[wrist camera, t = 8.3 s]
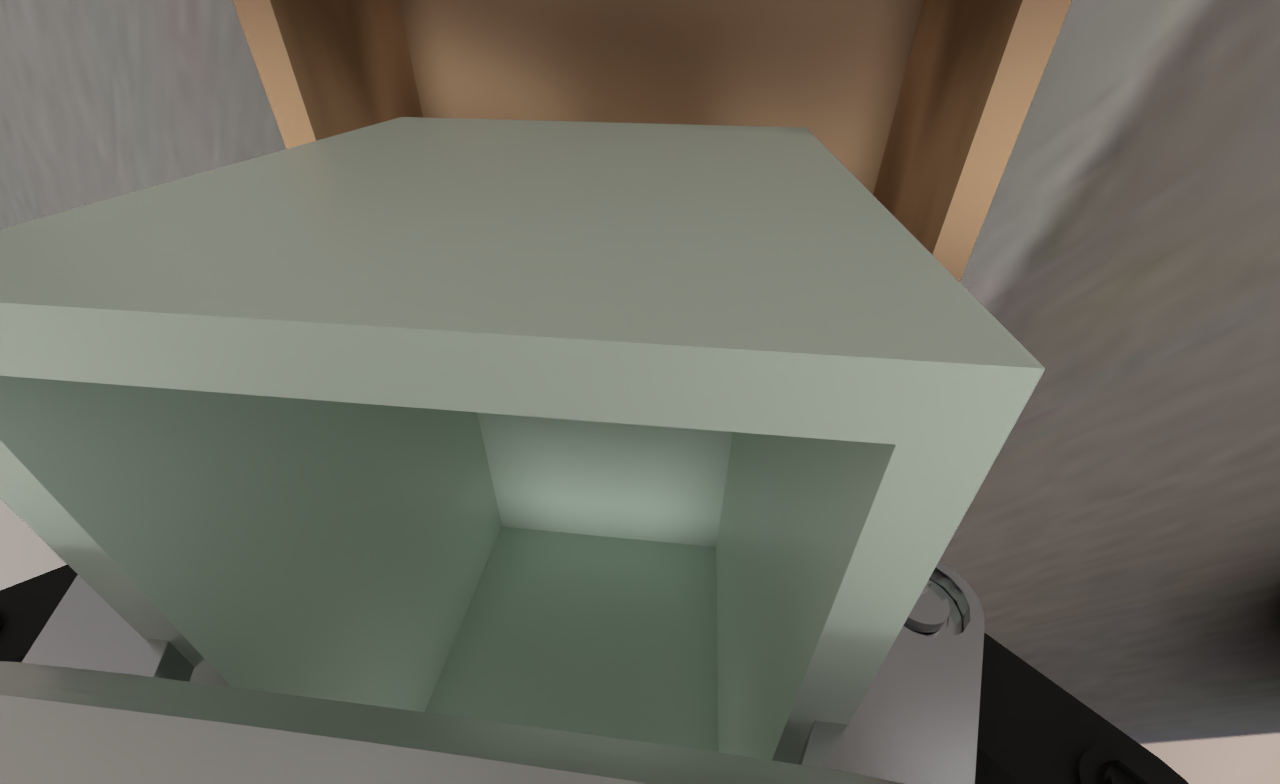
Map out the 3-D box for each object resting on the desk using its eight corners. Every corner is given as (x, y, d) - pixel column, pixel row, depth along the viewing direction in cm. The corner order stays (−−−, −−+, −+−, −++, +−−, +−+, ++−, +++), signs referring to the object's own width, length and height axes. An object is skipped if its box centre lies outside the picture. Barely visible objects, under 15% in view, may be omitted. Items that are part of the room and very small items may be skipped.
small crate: (401, 116, 9) (-216, 289, 3) (805, 127, 8) (1044, 367, 2) (494, 520, 14) (352, 842, 9) (733, 542, 14) (749, 903, 8)
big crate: (366, -85, 14) (180, -142, 9) (972, -90, 12) (1136, -161, 8) (476, 404, 24) (415, 502, 19) (823, 431, 22) (854, 545, 17)
